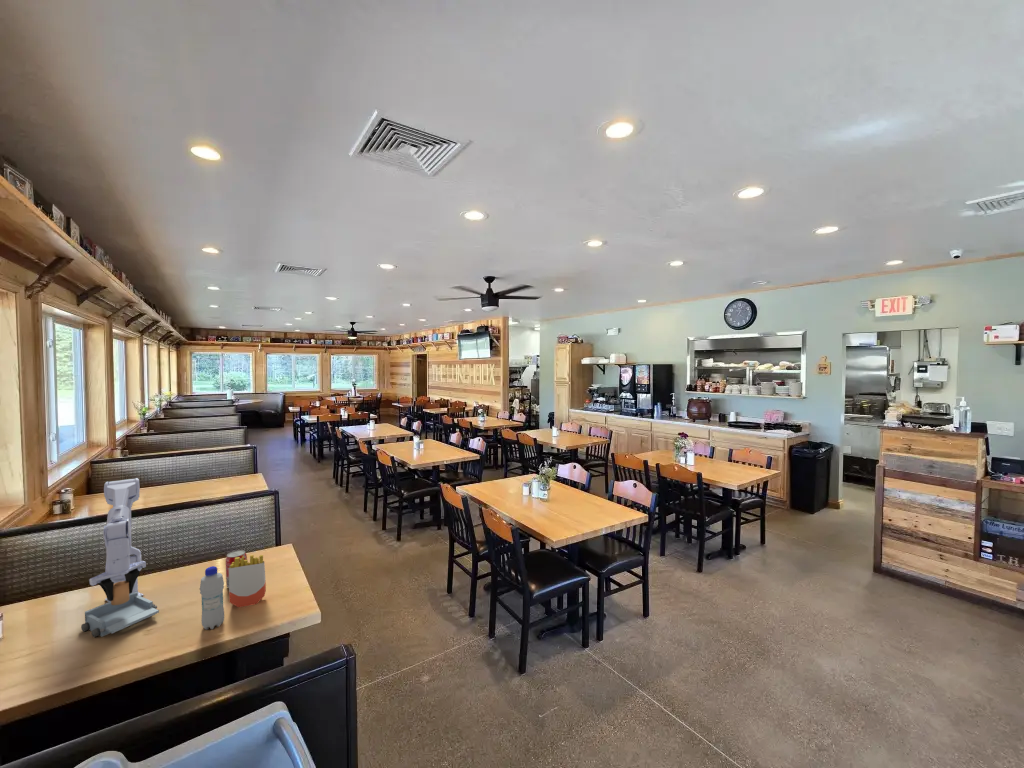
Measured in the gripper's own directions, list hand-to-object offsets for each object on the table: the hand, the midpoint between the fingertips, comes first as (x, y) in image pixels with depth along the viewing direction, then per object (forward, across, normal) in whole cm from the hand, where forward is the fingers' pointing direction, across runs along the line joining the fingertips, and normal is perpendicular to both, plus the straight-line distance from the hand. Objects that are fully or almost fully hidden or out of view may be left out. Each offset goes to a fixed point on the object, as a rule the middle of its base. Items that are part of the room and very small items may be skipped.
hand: (119, 596), depth 147 cm
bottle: (+9, +12, -31) cm, 34 cm away
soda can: (+9, +32, -12) cm, 35 cm away
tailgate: (+6, 0, -6) cm, 9 cm away
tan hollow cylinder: (+2, 0, 0) cm, 2 cm away
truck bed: (+9, 0, 0) cm, 9 cm away
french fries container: (+9, +26, -28) cm, 39 cm away
